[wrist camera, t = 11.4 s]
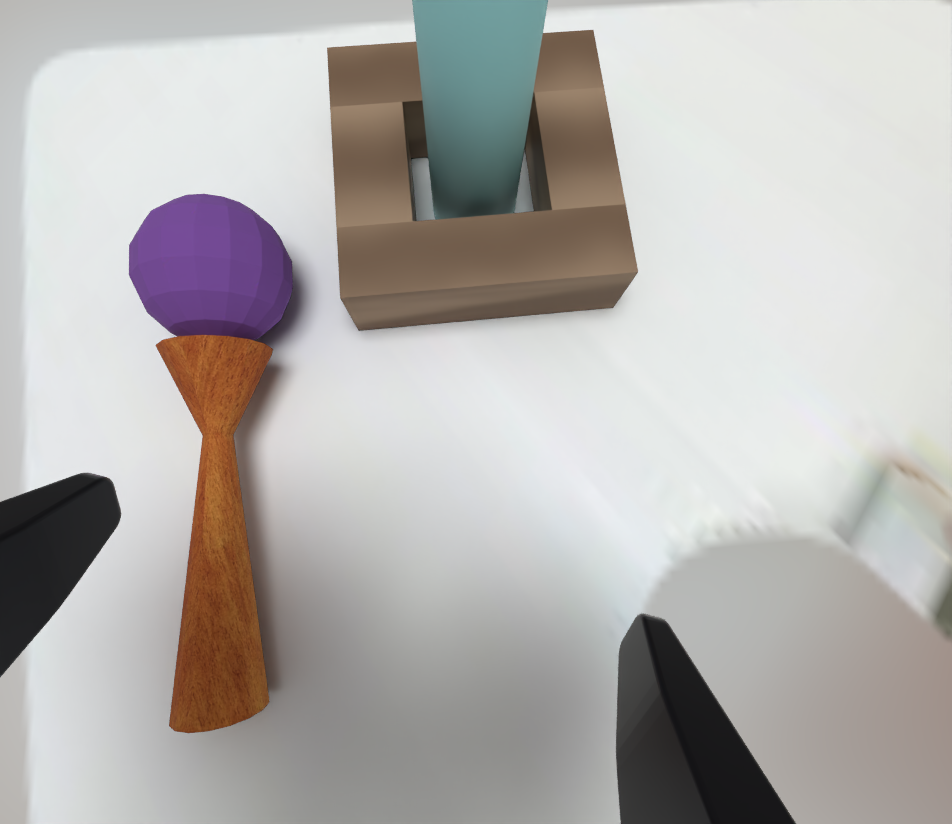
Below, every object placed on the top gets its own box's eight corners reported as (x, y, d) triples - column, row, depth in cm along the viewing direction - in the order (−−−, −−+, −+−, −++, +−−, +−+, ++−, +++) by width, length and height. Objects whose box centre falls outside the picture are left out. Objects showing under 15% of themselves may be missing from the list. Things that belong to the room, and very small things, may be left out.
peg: (529, 220, 25) (609, -149, 11) (458, 256, 24) (449, -83, 11) (488, 158, 25) (516, -262, 12) (419, 191, 25) (362, -206, 11)
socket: (613, 307, 24) (638, 272, 20) (358, 330, 23) (340, 297, 20) (576, 93, 26) (593, 29, 23) (345, 110, 26) (327, 47, 22)
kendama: (76, 753, 16) (89, 177, 19) (203, 679, 22) (200, 247, 25) (246, 754, 15) (235, 149, 18) (332, 676, 21) (315, 229, 24)
